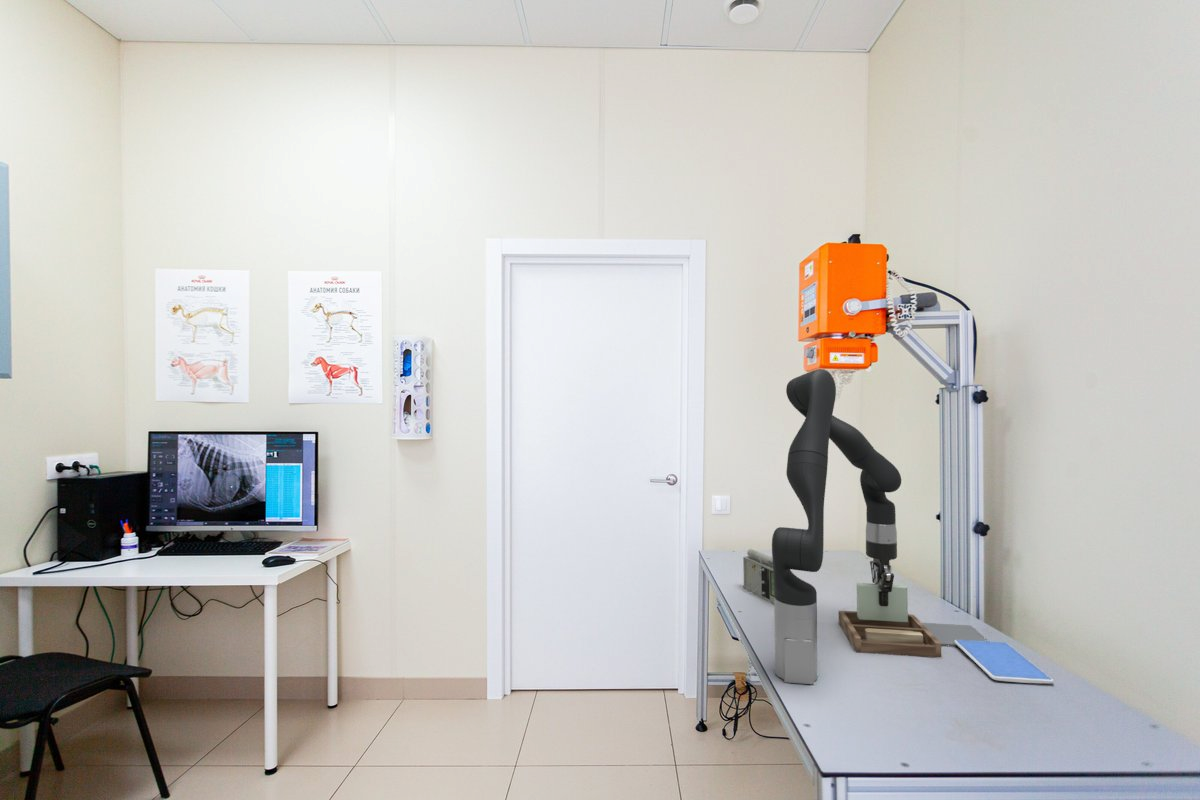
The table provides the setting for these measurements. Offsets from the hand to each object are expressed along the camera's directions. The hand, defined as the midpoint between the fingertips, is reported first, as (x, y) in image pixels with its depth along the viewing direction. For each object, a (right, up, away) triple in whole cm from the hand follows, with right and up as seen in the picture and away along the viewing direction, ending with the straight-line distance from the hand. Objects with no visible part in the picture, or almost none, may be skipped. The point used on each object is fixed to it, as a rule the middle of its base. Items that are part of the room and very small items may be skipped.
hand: (881, 603), depth 153 cm
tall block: (0, -4, 0) cm, 4 cm away
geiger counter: (-21, -9, +27) cm, 35 cm away
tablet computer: (+19, -8, -19) cm, 27 cm away
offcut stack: (-2, -8, -9) cm, 12 cm away
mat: (+18, -8, -2) cm, 20 cm away
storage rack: (-1, -8, -4) cm, 9 cm away
